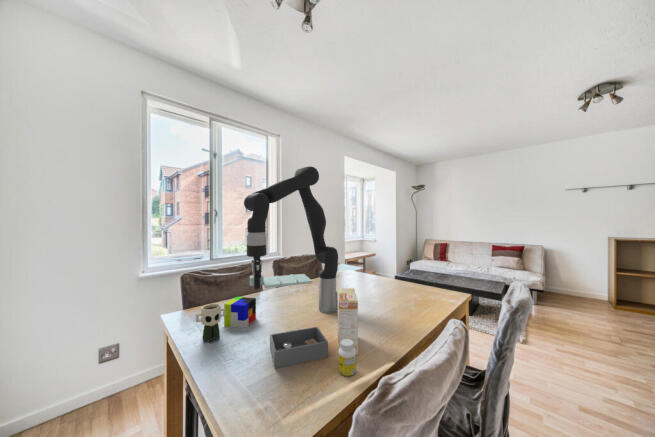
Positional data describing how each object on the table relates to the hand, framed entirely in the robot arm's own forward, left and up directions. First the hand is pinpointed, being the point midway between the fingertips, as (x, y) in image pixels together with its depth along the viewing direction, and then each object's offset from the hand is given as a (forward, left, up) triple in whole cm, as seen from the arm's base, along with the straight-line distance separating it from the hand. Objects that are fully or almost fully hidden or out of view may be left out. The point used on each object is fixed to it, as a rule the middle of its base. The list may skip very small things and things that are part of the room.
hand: (256, 287), depth 93 cm
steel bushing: (-9, +14, -20) cm, 27 cm away
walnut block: (-17, +17, -20) cm, 32 cm away
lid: (-9, 0, +1) cm, 9 cm away
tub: (-13, +16, -21) cm, 29 cm away
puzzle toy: (+6, -19, -21) cm, 29 cm away
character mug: (+17, -7, -21) cm, 28 cm away
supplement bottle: (-25, +31, -21) cm, 45 cm away
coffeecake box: (-32, +16, -21) cm, 42 cm away
